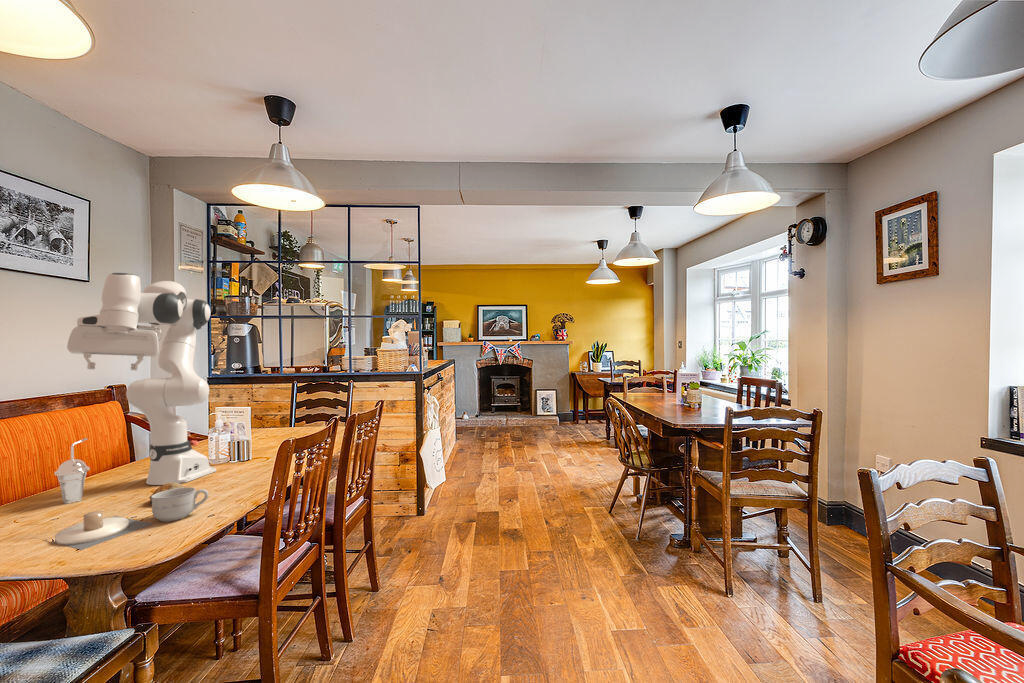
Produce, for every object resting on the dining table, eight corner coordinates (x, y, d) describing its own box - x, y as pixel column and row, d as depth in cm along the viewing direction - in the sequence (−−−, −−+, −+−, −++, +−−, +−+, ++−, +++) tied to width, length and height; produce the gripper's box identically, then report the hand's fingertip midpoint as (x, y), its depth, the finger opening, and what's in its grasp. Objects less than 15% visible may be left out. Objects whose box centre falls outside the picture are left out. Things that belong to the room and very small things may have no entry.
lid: (107, 518, 134) (107, 501, 134) (141, 525, 129) (141, 507, 129) (41, 539, 120) (41, 520, 120) (76, 548, 115) (76, 528, 115)
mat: (115, 517, 136) (115, 516, 136) (153, 525, 131) (153, 523, 131) (41, 541, 120) (41, 539, 120) (81, 551, 115) (81, 549, 115)
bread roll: (185, 513, 149) (197, 489, 151) (149, 508, 142) (162, 482, 144) (177, 506, 155) (189, 482, 158) (143, 500, 148) (156, 476, 151)
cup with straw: (49, 503, 148) (48, 442, 148) (84, 494, 156) (84, 437, 156) (61, 507, 144) (60, 445, 144) (97, 498, 153) (96, 439, 152)
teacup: (143, 527, 129) (143, 499, 129) (162, 513, 140) (161, 487, 140) (199, 521, 133) (199, 494, 133) (213, 508, 143) (213, 483, 143)
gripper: (162, 329, 143) (158, 372, 140) (73, 323, 131) (67, 370, 128) (162, 324, 138) (157, 368, 135) (69, 317, 126) (62, 366, 123)
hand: (112, 369), depth 131 cm, fingers open, 8 cm apart
